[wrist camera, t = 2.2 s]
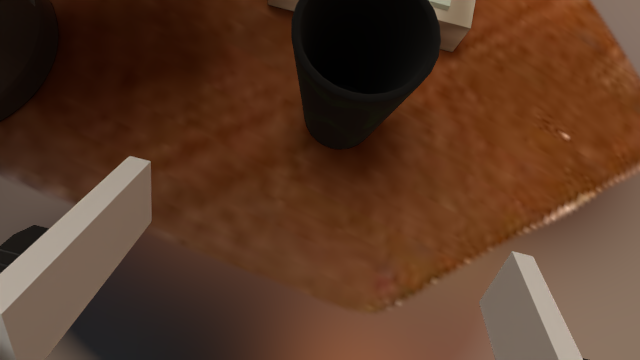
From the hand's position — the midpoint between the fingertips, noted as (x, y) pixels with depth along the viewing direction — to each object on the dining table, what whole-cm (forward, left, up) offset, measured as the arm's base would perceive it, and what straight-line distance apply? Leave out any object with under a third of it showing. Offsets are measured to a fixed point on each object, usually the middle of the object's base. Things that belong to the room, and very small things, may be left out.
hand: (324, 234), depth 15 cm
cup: (0, +11, -16) cm, 19 cm away
